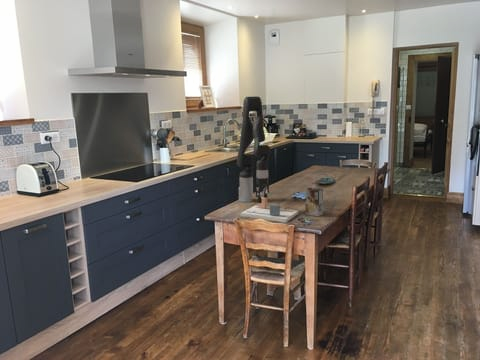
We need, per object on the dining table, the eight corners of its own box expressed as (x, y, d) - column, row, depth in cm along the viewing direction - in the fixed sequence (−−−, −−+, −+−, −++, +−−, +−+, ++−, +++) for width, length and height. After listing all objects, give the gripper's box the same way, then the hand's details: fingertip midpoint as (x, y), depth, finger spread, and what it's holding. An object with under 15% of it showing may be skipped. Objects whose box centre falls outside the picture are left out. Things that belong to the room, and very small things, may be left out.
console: (241, 215, 254) (240, 212, 254) (255, 208, 271) (255, 205, 271) (286, 222, 240) (286, 218, 239) (298, 213, 257) (298, 210, 256)
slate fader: (269, 214, 246) (269, 205, 245) (272, 213, 249) (272, 203, 248) (277, 215, 244) (277, 206, 243) (279, 214, 247) (279, 204, 246)
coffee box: (323, 214, 255) (323, 188, 252) (318, 216, 250) (319, 190, 247) (309, 212, 260) (309, 187, 257) (305, 214, 255) (305, 189, 252)
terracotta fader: (257, 207, 263) (257, 198, 262) (260, 206, 266) (260, 197, 265) (264, 208, 261) (264, 199, 260) (267, 207, 264) (267, 197, 263)
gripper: (262, 174, 268) (262, 198, 271) (251, 178, 255) (252, 203, 258) (272, 175, 264) (272, 199, 267) (262, 179, 252) (263, 204, 255)
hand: (262, 201), depth 263 cm, fingers open, 8 cm apart
